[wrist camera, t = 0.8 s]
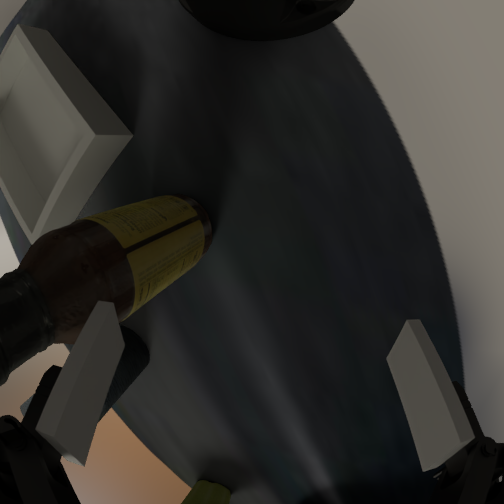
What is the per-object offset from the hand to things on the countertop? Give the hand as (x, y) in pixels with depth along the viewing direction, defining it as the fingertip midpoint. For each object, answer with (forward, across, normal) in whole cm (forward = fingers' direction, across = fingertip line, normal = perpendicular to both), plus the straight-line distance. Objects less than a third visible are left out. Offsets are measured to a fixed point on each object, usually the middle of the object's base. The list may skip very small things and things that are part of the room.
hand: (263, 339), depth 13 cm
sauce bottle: (+13, -6, -2) cm, 15 cm away
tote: (+20, -24, +7) cm, 32 cm away
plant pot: (+4, -3, -44) cm, 44 cm away
